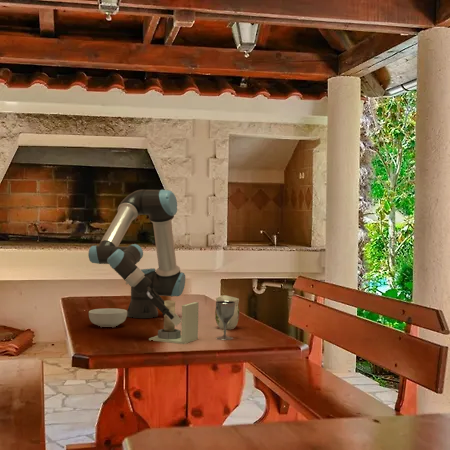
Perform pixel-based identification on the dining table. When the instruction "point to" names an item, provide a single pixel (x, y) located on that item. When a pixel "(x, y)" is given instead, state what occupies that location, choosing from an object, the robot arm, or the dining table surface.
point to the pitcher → (235, 318)
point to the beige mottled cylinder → (167, 323)
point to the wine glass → (225, 315)
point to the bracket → (188, 327)
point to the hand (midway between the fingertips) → (178, 322)
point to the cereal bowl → (107, 317)
